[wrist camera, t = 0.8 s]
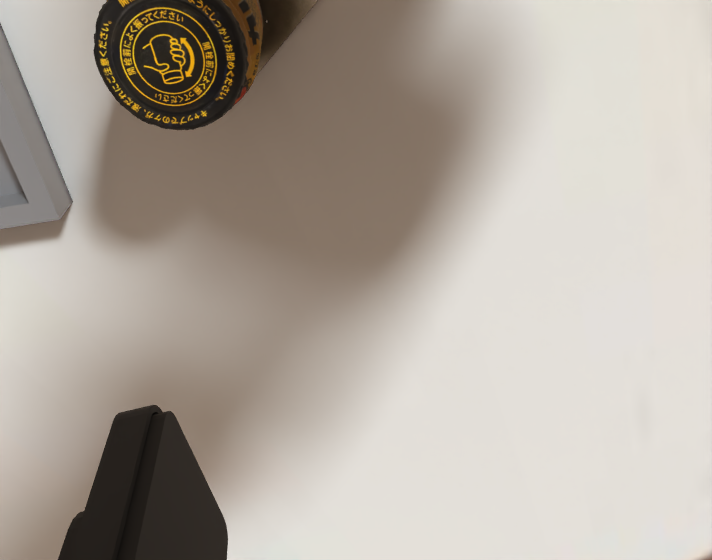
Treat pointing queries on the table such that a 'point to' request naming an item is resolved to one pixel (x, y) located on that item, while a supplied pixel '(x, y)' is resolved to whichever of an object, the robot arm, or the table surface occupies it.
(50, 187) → the tray
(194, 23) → the condiment
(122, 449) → the robot arm
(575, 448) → the table surface
